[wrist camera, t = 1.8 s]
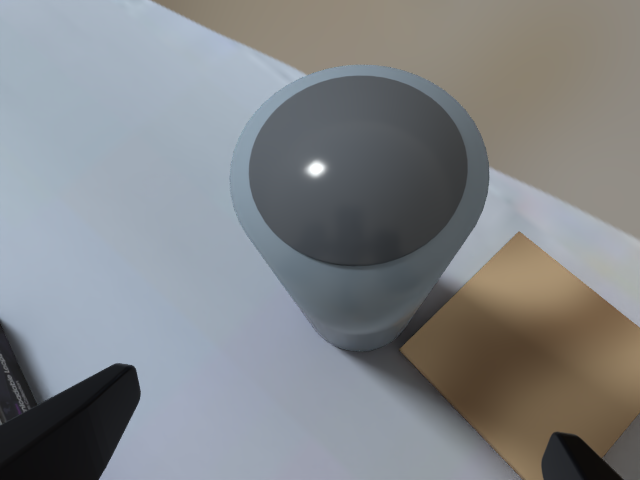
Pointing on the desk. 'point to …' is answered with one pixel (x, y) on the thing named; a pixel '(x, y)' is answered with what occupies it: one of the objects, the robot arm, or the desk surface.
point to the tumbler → (359, 195)
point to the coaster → (532, 357)
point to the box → (12, 384)
